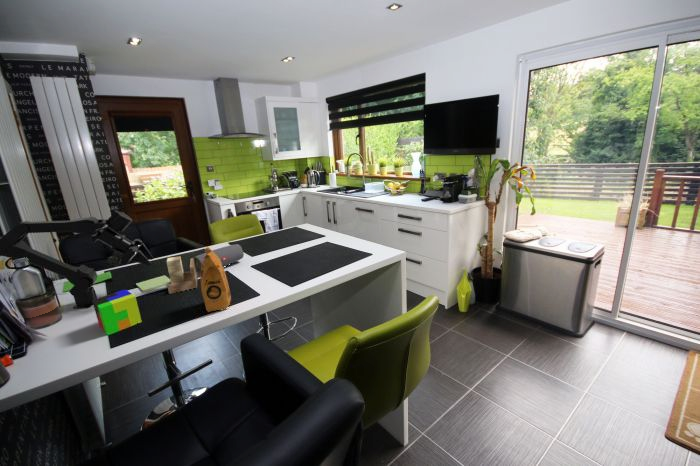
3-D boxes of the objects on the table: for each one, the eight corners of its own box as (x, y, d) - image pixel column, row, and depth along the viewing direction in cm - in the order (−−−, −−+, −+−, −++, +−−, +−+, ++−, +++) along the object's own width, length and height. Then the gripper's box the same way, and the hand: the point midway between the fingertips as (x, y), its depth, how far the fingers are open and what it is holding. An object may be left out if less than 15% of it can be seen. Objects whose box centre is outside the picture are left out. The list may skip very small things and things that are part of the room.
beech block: (171, 285, 136) (166, 261, 133) (172, 281, 140) (167, 258, 138) (184, 283, 138) (179, 259, 135) (185, 279, 142) (180, 256, 140)
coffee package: (202, 315, 114) (191, 258, 108) (205, 300, 125) (195, 248, 119) (231, 309, 117) (222, 253, 111) (231, 295, 128) (223, 244, 122)
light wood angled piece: (169, 294, 133) (164, 271, 130) (171, 282, 144) (167, 262, 142) (197, 288, 137) (192, 266, 134) (197, 277, 148) (193, 257, 146)
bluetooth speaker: (204, 277, 148) (200, 257, 146) (194, 273, 154) (190, 254, 151) (245, 262, 166) (243, 244, 163) (235, 259, 171) (232, 241, 169)
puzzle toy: (132, 313, 118) (125, 289, 115) (141, 322, 112) (135, 296, 109) (99, 325, 110) (91, 299, 108) (107, 335, 104) (100, 308, 102)
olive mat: (143, 292, 136) (143, 290, 136) (136, 284, 144) (135, 283, 144) (173, 282, 144) (173, 281, 144) (164, 276, 152) (164, 275, 152)
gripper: (105, 250, 133) (141, 270, 140) (94, 262, 117) (135, 284, 124) (124, 229, 135) (158, 250, 142) (115, 239, 118) (154, 262, 126)
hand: (151, 261), depth 133 cm, fingers open, 9 cm apart
